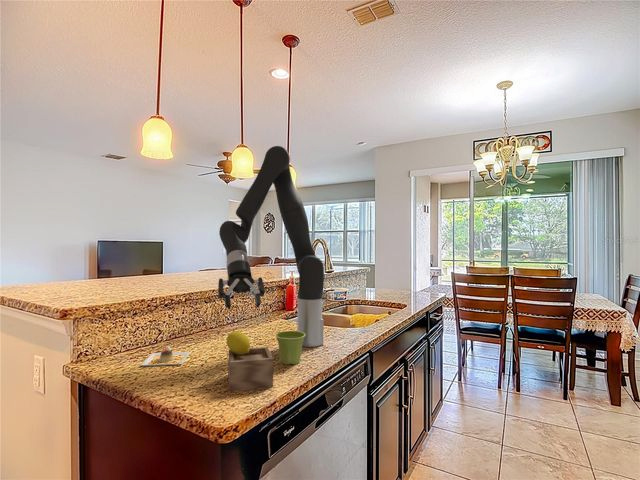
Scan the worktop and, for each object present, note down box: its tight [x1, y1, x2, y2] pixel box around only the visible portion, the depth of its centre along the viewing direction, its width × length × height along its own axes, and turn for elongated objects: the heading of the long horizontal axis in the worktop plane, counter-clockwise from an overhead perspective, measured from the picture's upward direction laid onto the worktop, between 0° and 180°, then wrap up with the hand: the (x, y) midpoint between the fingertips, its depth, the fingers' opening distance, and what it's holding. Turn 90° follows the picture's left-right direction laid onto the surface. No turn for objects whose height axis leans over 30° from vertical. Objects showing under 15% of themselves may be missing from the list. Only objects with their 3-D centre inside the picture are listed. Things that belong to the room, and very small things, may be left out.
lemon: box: [226, 330, 251, 355], centre depth 96 cm, size 6×6×8 cm
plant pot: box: [275, 330, 305, 365], centre depth 110 cm, size 9×9×9 cm
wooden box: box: [227, 346, 274, 392], centre depth 94 cm, size 11×11×8 cm
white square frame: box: [140, 346, 191, 367], centre depth 111 cm, size 12×12×5 cm
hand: (243, 306), depth 105 cm, fingers open, 8 cm apart
